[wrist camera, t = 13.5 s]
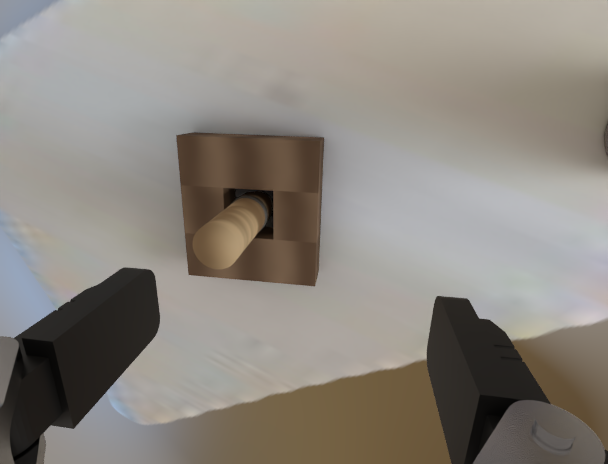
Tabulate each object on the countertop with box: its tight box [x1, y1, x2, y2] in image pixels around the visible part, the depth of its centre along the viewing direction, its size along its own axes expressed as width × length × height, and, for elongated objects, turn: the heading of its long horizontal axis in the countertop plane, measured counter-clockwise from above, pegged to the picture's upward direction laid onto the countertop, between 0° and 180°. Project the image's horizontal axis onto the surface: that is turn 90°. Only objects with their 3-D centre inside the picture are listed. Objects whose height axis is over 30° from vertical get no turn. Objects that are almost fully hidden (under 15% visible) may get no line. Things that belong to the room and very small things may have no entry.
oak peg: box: [193, 191, 272, 269], centre depth 37 cm, size 4×4×14 cm
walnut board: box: [176, 133, 324, 286], centre depth 42 cm, size 15×16×4 cm
